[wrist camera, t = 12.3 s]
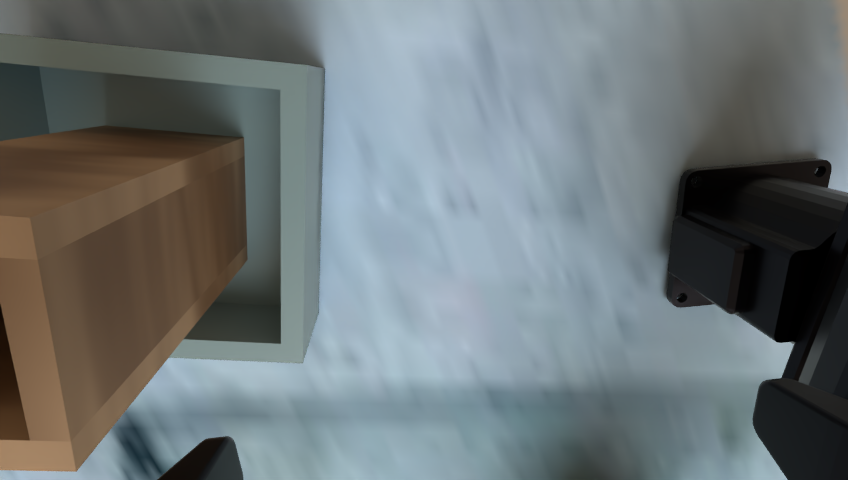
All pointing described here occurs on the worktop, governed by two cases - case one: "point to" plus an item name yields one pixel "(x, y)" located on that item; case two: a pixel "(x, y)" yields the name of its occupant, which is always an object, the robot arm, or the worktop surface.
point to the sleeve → (105, 274)
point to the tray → (216, 115)
